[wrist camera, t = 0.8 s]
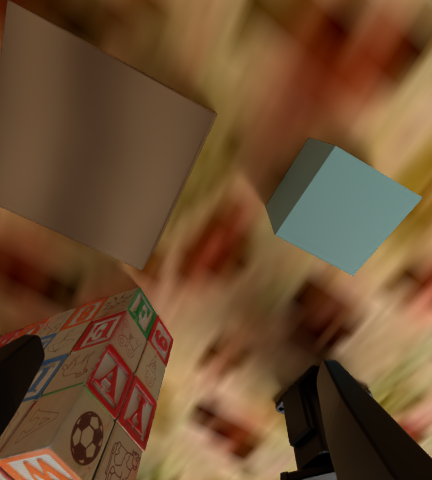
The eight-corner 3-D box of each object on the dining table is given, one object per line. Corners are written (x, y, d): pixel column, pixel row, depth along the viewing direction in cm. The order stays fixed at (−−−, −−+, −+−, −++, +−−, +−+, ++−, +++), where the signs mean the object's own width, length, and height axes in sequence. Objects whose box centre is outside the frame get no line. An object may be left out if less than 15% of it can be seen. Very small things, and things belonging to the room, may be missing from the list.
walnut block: (217, 114, 17) (213, 113, 13) (158, 243, 21) (141, 270, 17) (60, 26, 16) (7, -1, 12) (28, 182, 20) (-19, 198, 16)
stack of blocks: (-3, 391, 29) (-151, 564, 18) (-47, 350, 27) (-247, 518, 16) (175, 339, 24) (125, 528, 13) (140, 283, 22) (45, 454, 11)
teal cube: (374, 176, 18) (422, 197, 13) (325, 238, 20) (353, 276, 15) (308, 137, 17) (335, 145, 12) (265, 206, 19) (275, 235, 14)
